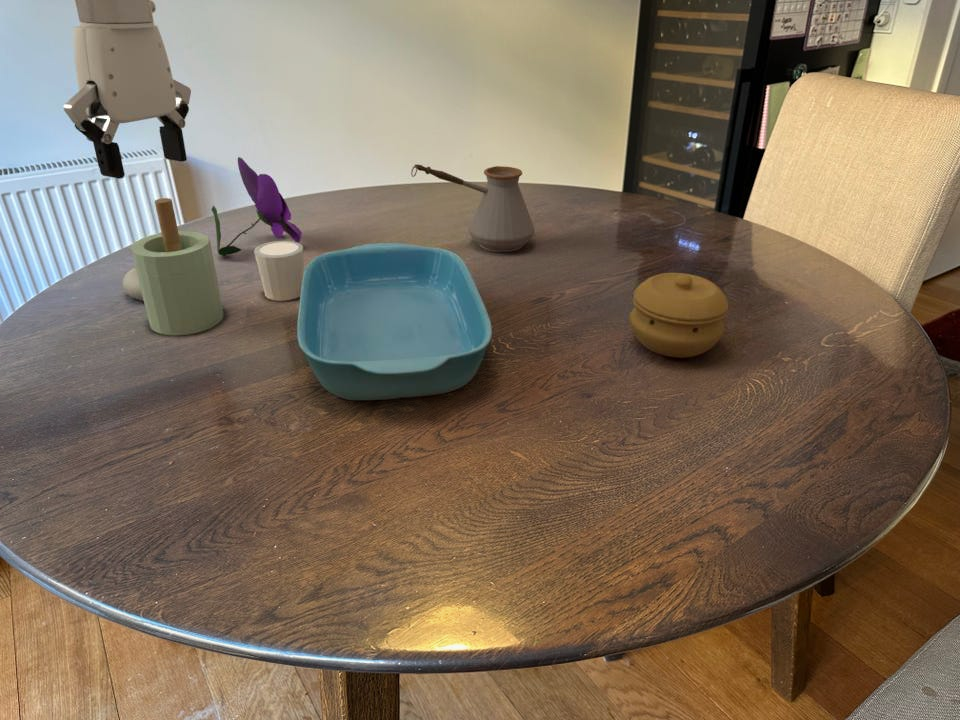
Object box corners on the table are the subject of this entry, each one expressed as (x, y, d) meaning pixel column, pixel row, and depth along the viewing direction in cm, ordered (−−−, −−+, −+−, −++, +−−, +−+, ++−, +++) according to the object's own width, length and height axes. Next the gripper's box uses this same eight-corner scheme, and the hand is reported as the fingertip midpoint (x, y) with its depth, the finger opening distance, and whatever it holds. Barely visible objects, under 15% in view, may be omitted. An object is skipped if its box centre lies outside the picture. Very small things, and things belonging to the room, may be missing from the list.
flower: (262, 296, 115) (322, 243, 118) (206, 227, 104) (274, 171, 108) (223, 270, 124) (280, 221, 128) (168, 204, 113) (232, 154, 117)
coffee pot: (519, 230, 129) (523, 148, 122) (543, 252, 120) (549, 164, 112) (406, 242, 123) (403, 155, 116) (422, 265, 114) (420, 173, 106)
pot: (695, 324, 97) (708, 256, 92) (735, 366, 87) (752, 292, 82) (614, 328, 95) (623, 259, 90) (645, 372, 85) (656, 297, 80)
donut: (116, 290, 104) (138, 311, 98) (110, 268, 103) (132, 288, 96) (183, 273, 110) (208, 292, 103) (178, 252, 108) (204, 270, 102)
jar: (140, 336, 91) (120, 257, 86) (161, 306, 99) (144, 231, 94) (215, 334, 92) (200, 255, 87) (229, 303, 100) (216, 230, 95)
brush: (168, 322, 94) (141, 205, 86) (176, 309, 97) (151, 195, 89) (199, 321, 94) (175, 204, 86) (206, 308, 97) (183, 195, 90)
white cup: (277, 280, 108) (272, 237, 104) (317, 287, 106) (312, 243, 102) (251, 298, 102) (243, 252, 99) (292, 305, 100) (286, 259, 97)
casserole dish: (508, 413, 77) (510, 357, 73) (299, 433, 73) (291, 374, 70) (456, 281, 108) (456, 237, 105) (309, 290, 105) (303, 245, 101)
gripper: (151, 8, 86) (175, 151, 94) (19, 13, 72) (61, 179, 80) (198, 12, 83) (219, 158, 92) (71, 17, 69) (109, 188, 78)
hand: (145, 167), depth 86 cm, fingers open, 9 cm apart
